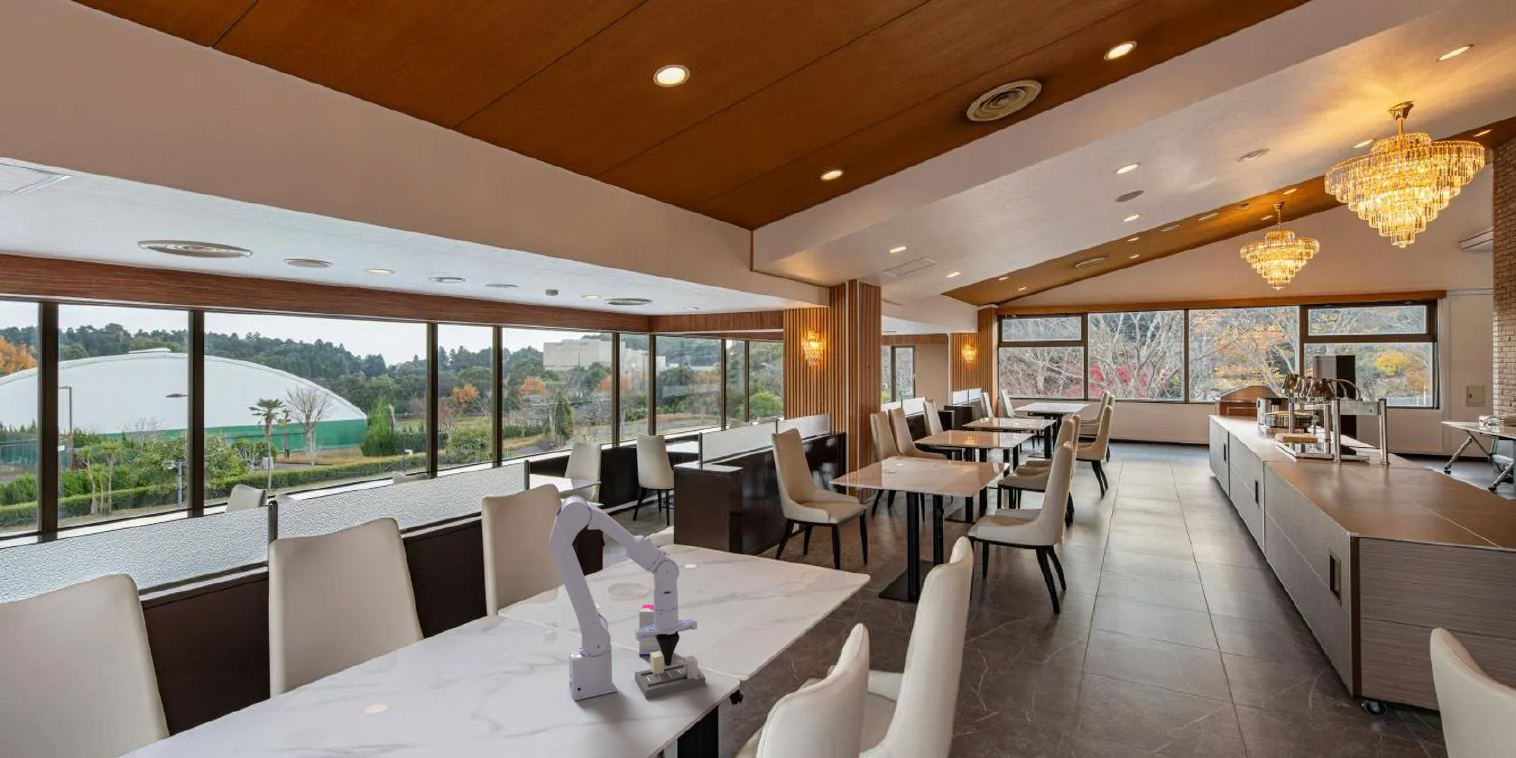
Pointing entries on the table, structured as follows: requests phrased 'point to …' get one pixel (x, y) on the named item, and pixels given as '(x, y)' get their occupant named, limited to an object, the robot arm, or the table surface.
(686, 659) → the fader near
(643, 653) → the supplement box
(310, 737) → the table surface
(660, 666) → the fader far
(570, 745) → the table surface
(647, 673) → the console
